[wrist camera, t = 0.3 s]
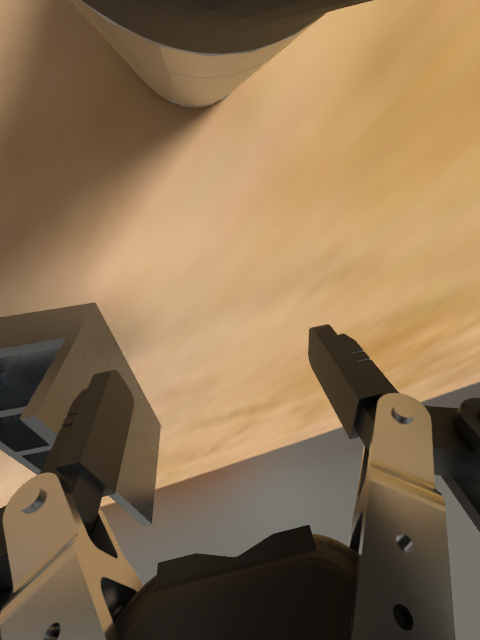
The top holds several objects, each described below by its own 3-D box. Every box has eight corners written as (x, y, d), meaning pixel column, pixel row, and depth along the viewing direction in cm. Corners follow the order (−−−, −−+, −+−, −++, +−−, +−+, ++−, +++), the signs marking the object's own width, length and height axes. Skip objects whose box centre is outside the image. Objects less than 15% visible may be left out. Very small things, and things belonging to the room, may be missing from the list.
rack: (-66, 328, 26) (-243, 468, 15) (95, 302, 27) (35, 415, 16) (62, 444, 41) (18, 554, 30) (160, 425, 42) (151, 524, 32)
